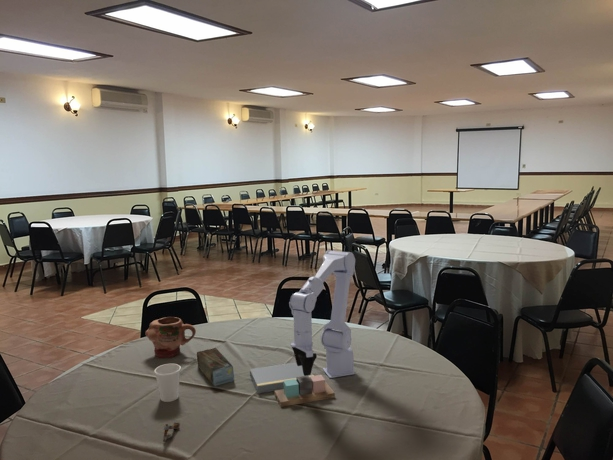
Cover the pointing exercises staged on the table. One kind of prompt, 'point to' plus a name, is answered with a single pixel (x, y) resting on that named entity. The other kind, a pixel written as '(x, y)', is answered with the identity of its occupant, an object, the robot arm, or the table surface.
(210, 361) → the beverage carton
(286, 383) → the block
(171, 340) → the terracotta mug
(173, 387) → the dixie cup
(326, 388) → the pallet
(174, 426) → the toy blaster gun
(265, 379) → the grey flat block
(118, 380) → the table surface
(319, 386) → the crate rose
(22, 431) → the table surface
